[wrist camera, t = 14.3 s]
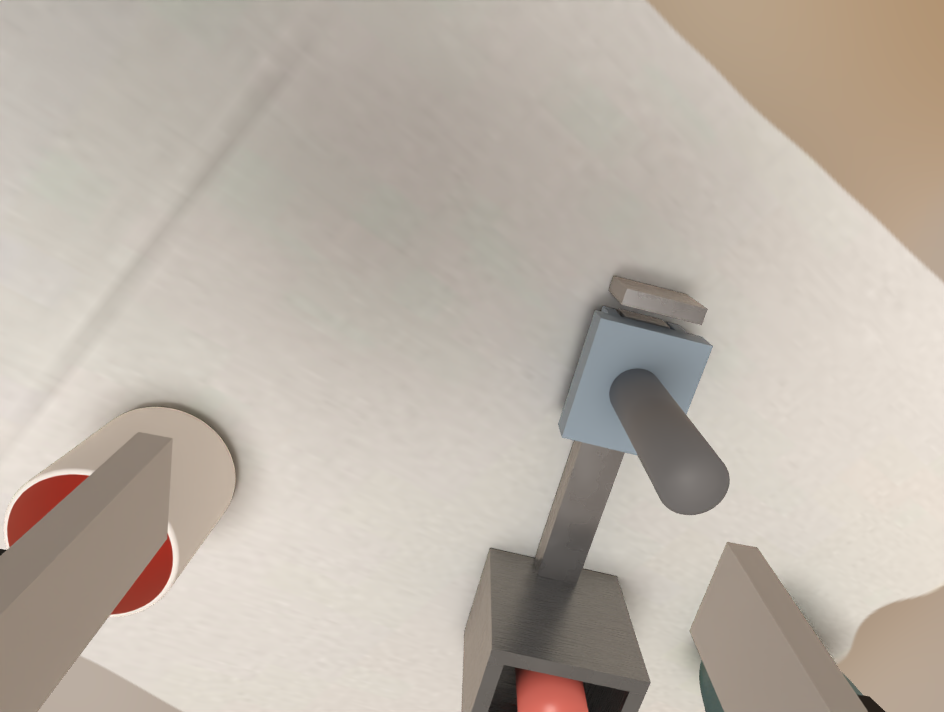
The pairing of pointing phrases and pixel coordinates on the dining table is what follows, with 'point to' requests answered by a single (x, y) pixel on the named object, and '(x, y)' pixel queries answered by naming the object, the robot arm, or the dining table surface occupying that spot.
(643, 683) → the open box
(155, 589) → the cup
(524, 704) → the button
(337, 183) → the dining table surface
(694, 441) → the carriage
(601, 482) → the rail
